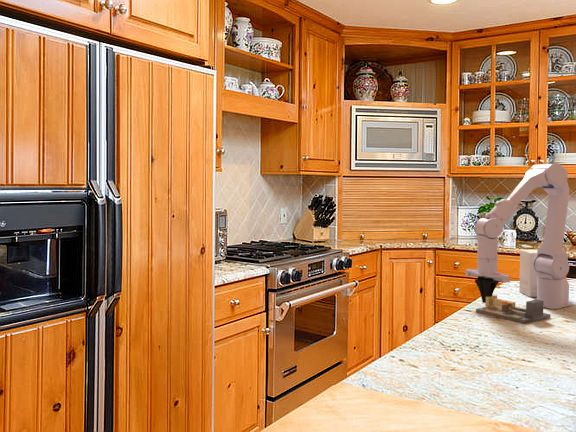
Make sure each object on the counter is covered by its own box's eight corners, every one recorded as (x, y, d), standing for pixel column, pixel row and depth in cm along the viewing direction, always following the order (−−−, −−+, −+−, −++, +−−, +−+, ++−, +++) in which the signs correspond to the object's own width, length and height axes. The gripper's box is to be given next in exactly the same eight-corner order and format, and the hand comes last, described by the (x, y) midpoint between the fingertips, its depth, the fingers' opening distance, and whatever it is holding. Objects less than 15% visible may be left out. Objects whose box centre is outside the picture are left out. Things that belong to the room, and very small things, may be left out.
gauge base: (501, 307, 170) (502, 289, 169) (550, 318, 156) (550, 299, 156) (476, 312, 163) (476, 294, 163) (524, 324, 150) (525, 304, 149)
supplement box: (556, 297, 183) (557, 252, 182) (529, 297, 183) (530, 252, 182) (544, 291, 192) (545, 249, 191) (518, 291, 192) (519, 249, 191)
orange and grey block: (504, 310, 158) (505, 300, 158) (508, 311, 157) (508, 301, 157) (500, 311, 157) (500, 301, 157) (503, 312, 156) (504, 302, 156)
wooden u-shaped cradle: (494, 304, 167) (494, 294, 167) (517, 309, 160) (517, 299, 160) (482, 307, 164) (482, 297, 164) (505, 312, 157) (505, 302, 157)
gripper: (459, 256, 170) (458, 299, 171) (499, 262, 158) (498, 308, 159) (474, 254, 174) (473, 296, 175) (514, 260, 162) (513, 305, 163)
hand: (486, 302), depth 167 cm, fingers closed
